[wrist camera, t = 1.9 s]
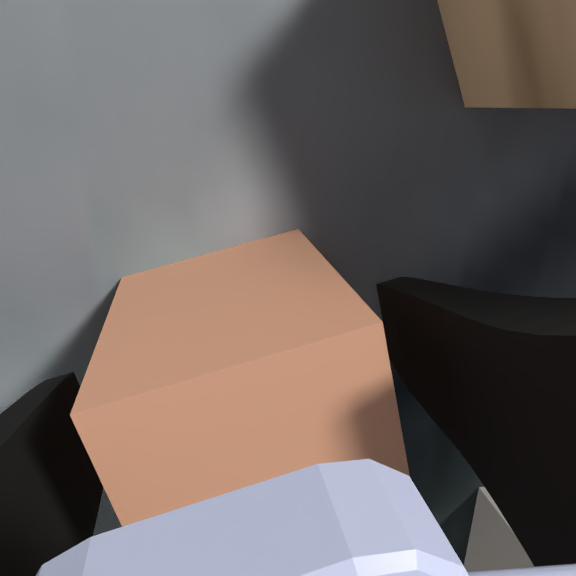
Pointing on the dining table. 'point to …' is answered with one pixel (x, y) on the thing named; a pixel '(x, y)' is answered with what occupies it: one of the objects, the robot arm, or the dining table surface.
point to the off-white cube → (492, 539)
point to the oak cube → (513, 51)
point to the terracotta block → (234, 378)
